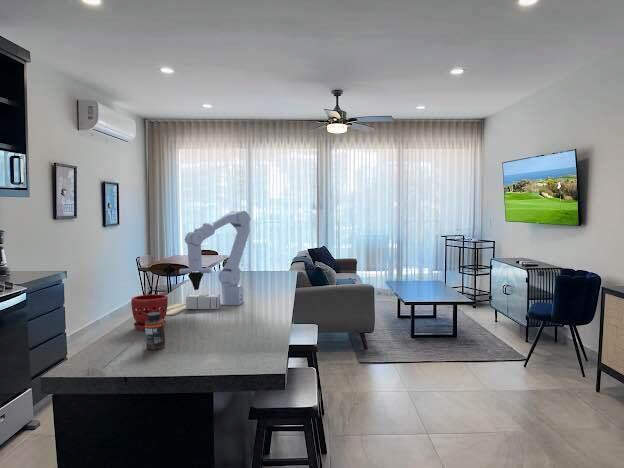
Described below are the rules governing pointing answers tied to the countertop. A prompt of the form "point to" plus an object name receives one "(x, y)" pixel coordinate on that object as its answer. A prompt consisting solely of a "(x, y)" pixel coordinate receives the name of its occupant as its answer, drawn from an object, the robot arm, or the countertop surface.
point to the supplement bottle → (154, 331)
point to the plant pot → (148, 303)
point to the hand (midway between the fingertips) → (196, 289)
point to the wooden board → (175, 309)
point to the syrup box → (202, 301)
